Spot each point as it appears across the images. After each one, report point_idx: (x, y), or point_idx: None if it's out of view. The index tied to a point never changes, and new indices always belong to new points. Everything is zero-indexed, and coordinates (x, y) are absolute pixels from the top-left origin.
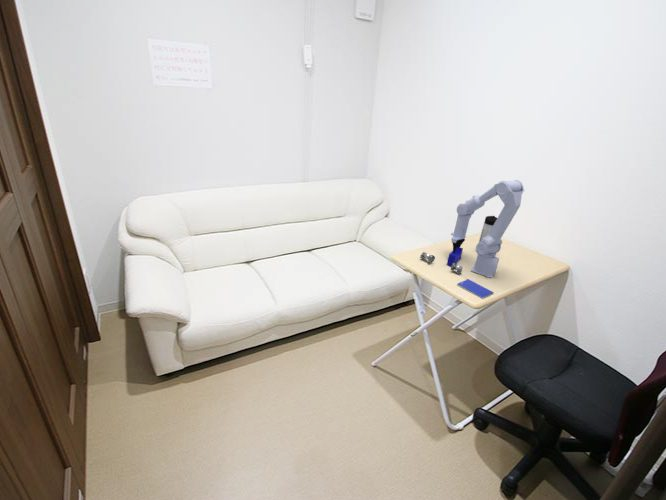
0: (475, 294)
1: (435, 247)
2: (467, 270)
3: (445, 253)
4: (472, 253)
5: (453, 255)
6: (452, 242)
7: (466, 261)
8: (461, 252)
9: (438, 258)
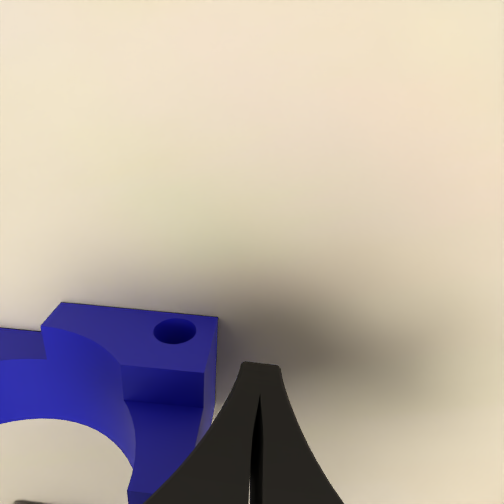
0: None
1: (424, 4)
2: (6, 480)
3: (260, 231)
4: (480, 479)
5: None
6: (161, 485)
7: None
8: None
9: (4, 190)
